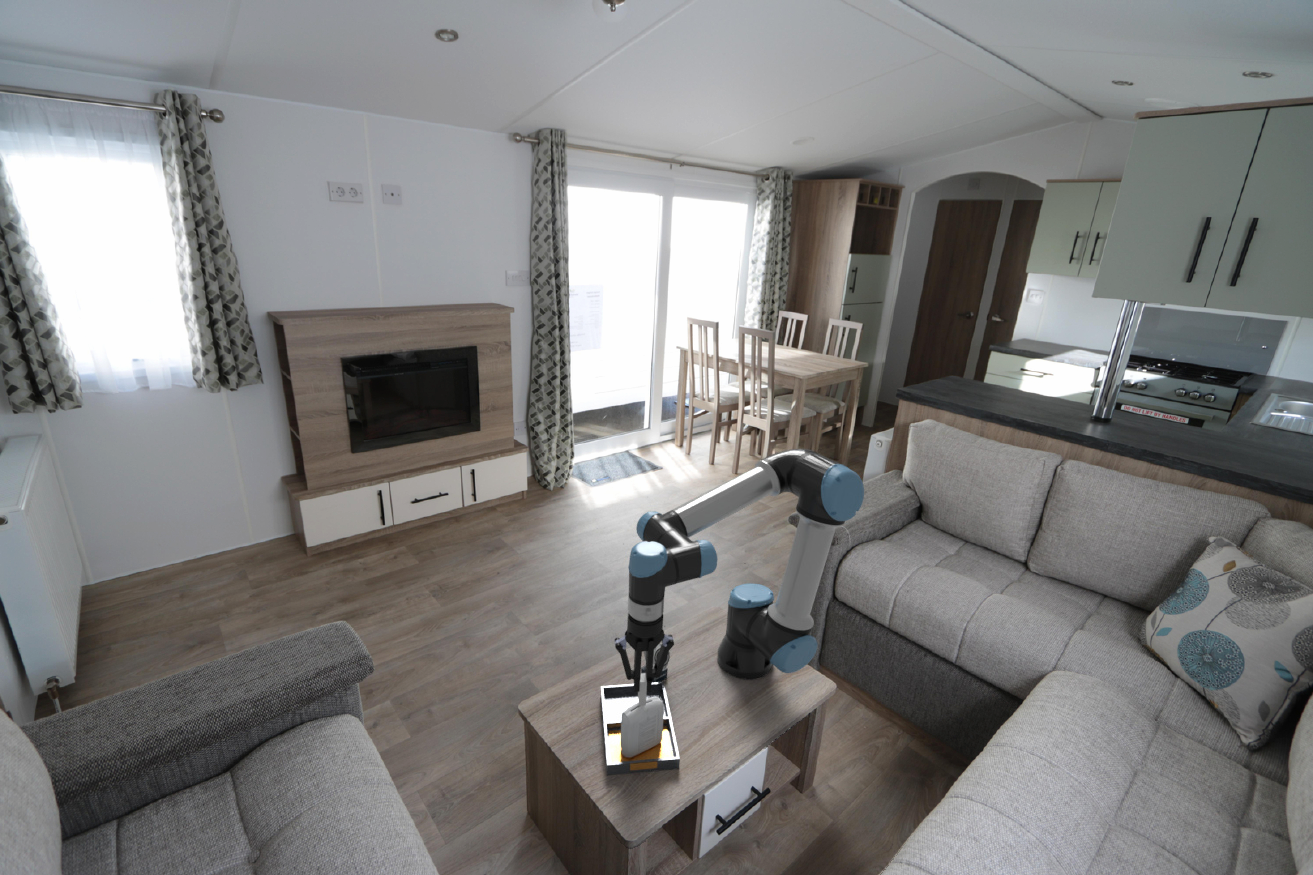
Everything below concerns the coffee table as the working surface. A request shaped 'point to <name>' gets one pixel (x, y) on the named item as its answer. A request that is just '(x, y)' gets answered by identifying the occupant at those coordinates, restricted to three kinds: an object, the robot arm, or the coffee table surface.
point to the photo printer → (641, 727)
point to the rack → (612, 708)
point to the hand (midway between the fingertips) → (641, 700)
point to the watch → (664, 671)
